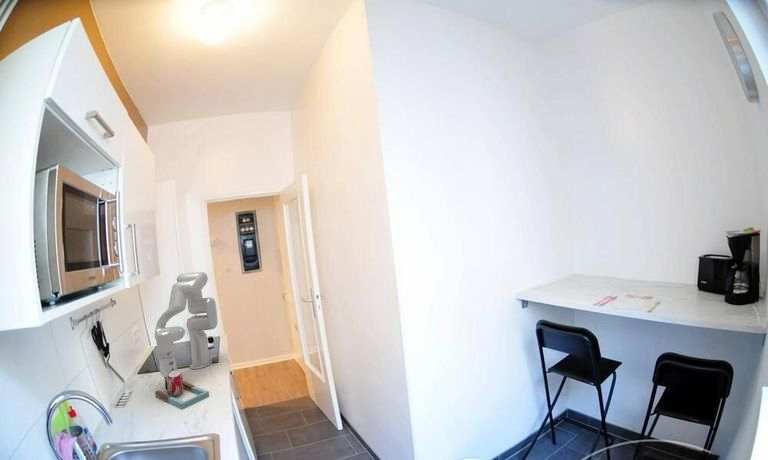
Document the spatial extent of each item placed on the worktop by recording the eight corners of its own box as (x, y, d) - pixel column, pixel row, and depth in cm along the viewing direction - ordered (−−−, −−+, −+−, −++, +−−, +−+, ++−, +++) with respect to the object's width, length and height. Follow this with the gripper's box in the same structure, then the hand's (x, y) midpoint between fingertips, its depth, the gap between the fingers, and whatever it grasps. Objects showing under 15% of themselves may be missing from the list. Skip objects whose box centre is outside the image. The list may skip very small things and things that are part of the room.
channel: (181, 385, 193) (181, 380, 193) (195, 390, 185) (194, 385, 185) (155, 397, 182) (155, 391, 182) (168, 402, 174) (168, 397, 174)
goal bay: (195, 390, 185) (194, 386, 185) (209, 396, 178) (208, 391, 178) (168, 402, 174) (168, 398, 174) (182, 409, 167) (181, 404, 167)
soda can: (164, 394, 181) (163, 374, 178) (176, 385, 188) (175, 366, 184) (174, 399, 179) (173, 379, 176) (186, 390, 185) (185, 371, 182)
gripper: (180, 354, 183) (183, 388, 184) (167, 350, 192) (170, 383, 192) (164, 359, 177) (168, 394, 178) (152, 355, 186) (155, 389, 186)
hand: (169, 388), depth 185 cm, fingers closed
